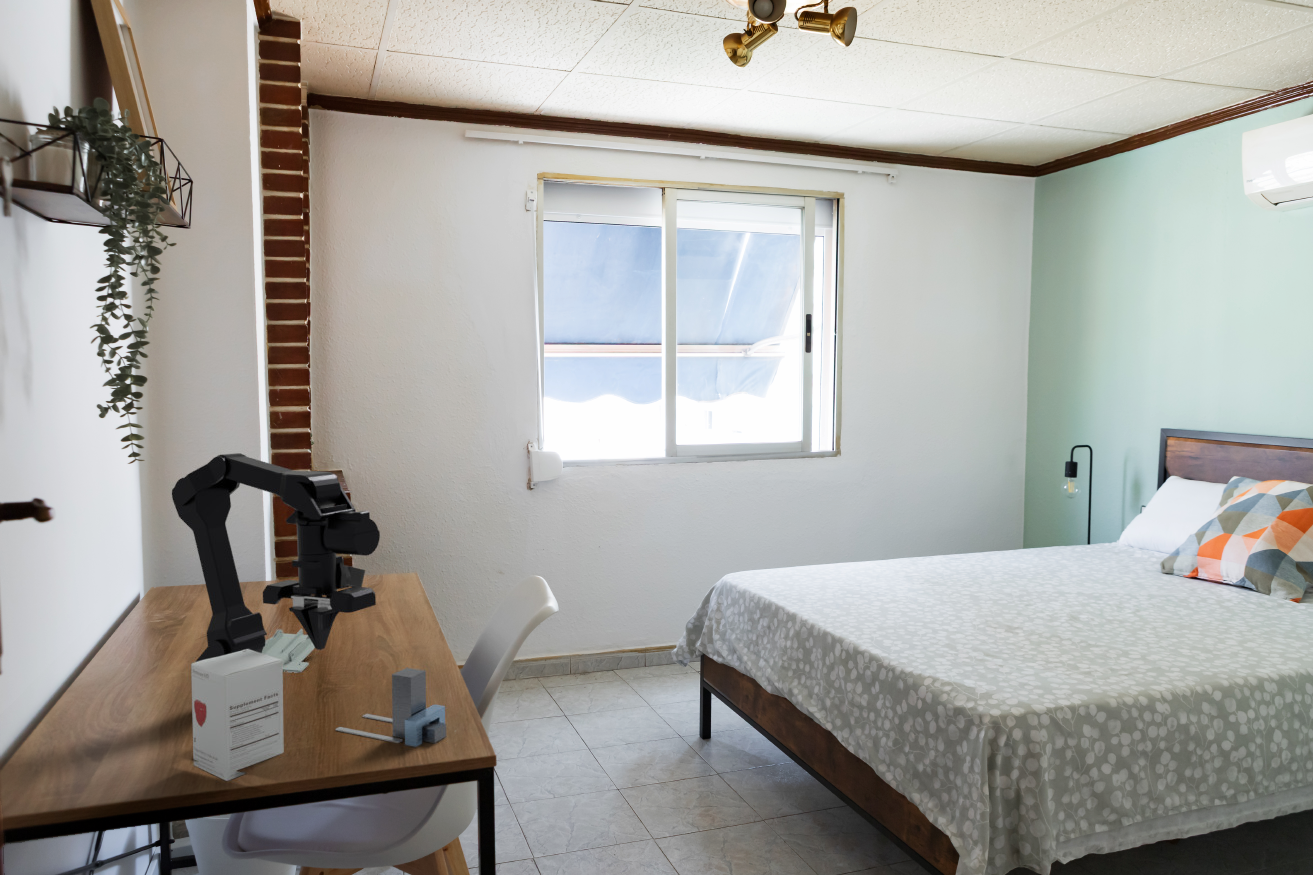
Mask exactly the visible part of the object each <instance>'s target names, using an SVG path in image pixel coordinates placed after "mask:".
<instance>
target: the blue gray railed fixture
mask: <svg viewBox="0 0 1313 875" xmlns="http://www.w3.org/2000/svg"><path fill="white" fill-rule="evenodd" d="M362 718H365V719H370V720H376V721H381V722H385V723H390V724H391V723H392V724H393V718H391V717H386V716H380V715H374V714H371V713H365V714H363V715H362ZM431 721H435V722H441V723H446V706H445V705H440V704H435V703H434V704H433V705H430V706H429V707H426V709H424V710H423V711H421V712H419V713H417V714H415V715H413V716H411V717H409V718H407V719H405V738H404V745H405V746H408V747H409V746H410V747H416V748H417V747H419V746H420V745H422V744H423V741H422V726H424V725H426V724H428V723H429V722H431ZM335 731H338V732H342V733H347V734H352V735H357V736H361V737H366V738H370V739H375V740H381V741H386V742H391V743H396V744H400V743H401V742H403V738H399V737H394V736H388V735H382V734H377V733H373V732H367V731H364V730H363V731H362V730H358V729H352V728H348V727H342V726H339V727H337V728H335Z"/></svg>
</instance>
